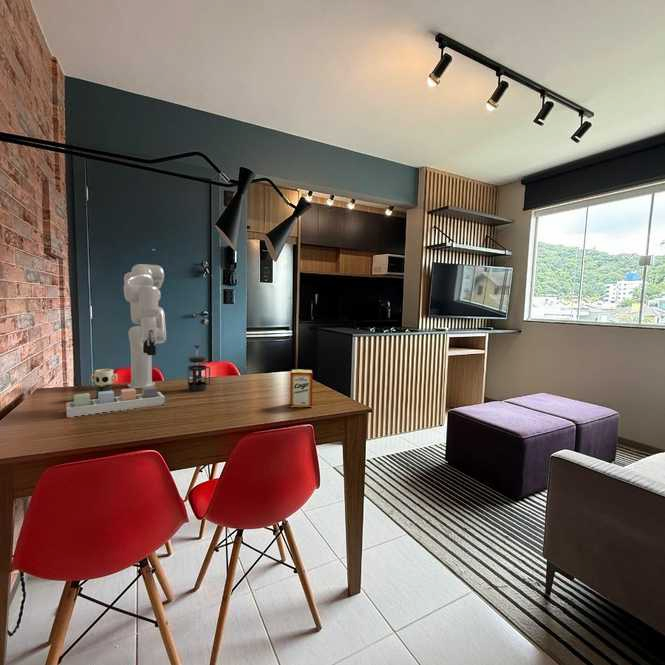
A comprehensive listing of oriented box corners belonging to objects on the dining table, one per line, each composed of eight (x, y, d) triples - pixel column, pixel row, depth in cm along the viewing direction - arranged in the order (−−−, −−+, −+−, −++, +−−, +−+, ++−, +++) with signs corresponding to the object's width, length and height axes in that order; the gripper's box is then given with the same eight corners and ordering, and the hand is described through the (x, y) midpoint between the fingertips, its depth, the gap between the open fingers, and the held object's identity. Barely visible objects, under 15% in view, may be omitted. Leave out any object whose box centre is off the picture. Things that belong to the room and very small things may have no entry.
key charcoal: (142, 396, 154) (142, 387, 154) (154, 394, 157) (154, 385, 157) (144, 398, 150) (144, 389, 150) (157, 397, 153) (157, 388, 153)
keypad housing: (66, 411, 140) (66, 402, 140) (159, 399, 161) (159, 391, 161) (66, 418, 132) (66, 408, 132) (164, 404, 153) (164, 396, 153)
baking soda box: (311, 403, 161) (312, 369, 160) (311, 408, 154) (312, 372, 153) (290, 403, 160) (291, 369, 159) (290, 408, 153) (290, 371, 152)
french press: (183, 391, 175) (183, 346, 173) (189, 387, 184) (189, 343, 183) (207, 392, 176) (207, 346, 174) (212, 387, 185) (212, 344, 184)
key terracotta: (120, 398, 149) (120, 389, 149) (134, 397, 152) (134, 388, 152) (122, 401, 145) (122, 392, 145) (136, 399, 148) (136, 390, 148)
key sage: (74, 404, 139) (73, 394, 139) (89, 402, 142) (89, 392, 142) (74, 407, 135) (74, 397, 135) (90, 405, 139) (90, 395, 138)
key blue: (98, 401, 144) (98, 391, 144) (112, 399, 147) (112, 390, 147) (99, 404, 140) (99, 394, 140) (114, 402, 143) (113, 392, 143)
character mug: (87, 400, 155) (86, 371, 154) (95, 396, 162) (94, 368, 161) (114, 400, 157) (113, 371, 156) (120, 396, 164) (120, 368, 163)
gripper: (135, 314, 156) (136, 352, 157) (142, 314, 142) (142, 356, 143) (154, 314, 161) (155, 351, 162) (162, 314, 147) (163, 355, 148)
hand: (149, 354), depth 152 cm, fingers open, 9 cm apart
